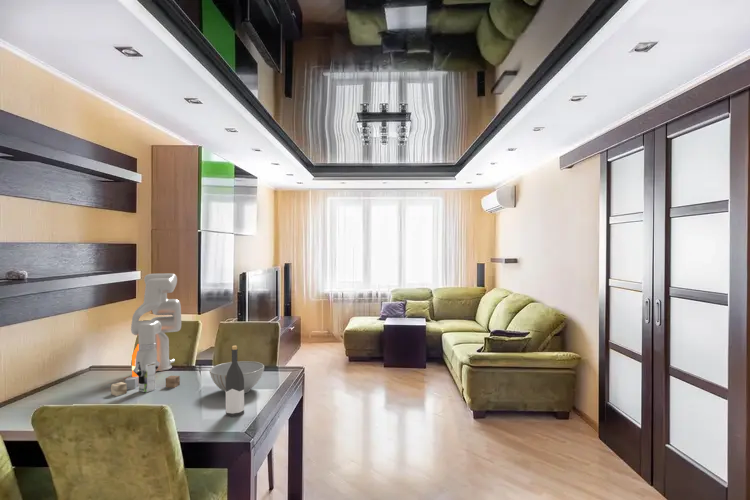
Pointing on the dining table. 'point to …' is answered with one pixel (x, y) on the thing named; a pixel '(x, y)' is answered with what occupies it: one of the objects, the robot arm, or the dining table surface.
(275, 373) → the dining table surface
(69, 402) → the dining table surface
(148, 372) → the syrup box
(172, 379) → the walnut cube
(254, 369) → the decorative bowl
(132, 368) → the orange juice
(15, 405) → the dining table surface
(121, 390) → the maple cube
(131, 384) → the slate painted cube
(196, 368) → the dining table surface
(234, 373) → the wine bottle
